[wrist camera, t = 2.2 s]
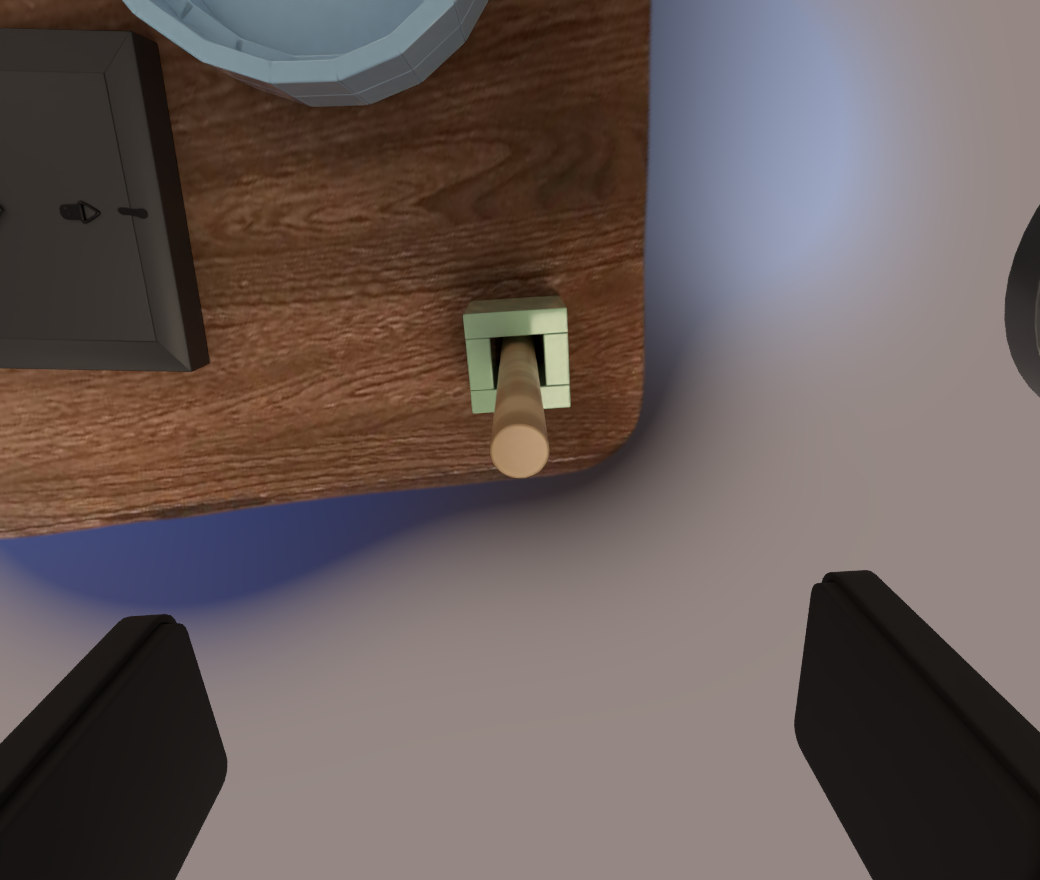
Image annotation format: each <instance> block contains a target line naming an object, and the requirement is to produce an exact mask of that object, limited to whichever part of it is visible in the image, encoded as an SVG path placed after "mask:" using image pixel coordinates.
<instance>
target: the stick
mask: <svg viewBox="0 0 1040 880" xmlns="http://www.w3.org/2000/svg"><path fill="white" fill-rule="evenodd" d="M490 455H491V459H492V461H493V463H494V465H495V466H496V468H497V469H498V470H499V471H500V472H502V473H503V474H505V475H507V476H510V477H513V478H526V477H530V476H532V475H534V474H536V473H537V472H539V471H540V470H541V469H542V468H543V467H544V465H545V464H546V462H547V460H548V457H549V443H548V436H547V429H546V422H545V416H544V409H543V402H542V395H541V388H540V381H539V374H538V368H537V361H536V354H535V347H534V340H533V337H532V335H523V336H508V337H503V340H502V348H501V357H500V366H499V375H498V384H497V392H496V401H495V410H494V419H493V428H492V437H491V446H490Z"/></svg>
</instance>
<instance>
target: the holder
mask: <svg viewBox="0 0 1040 880" xmlns="http://www.w3.org/2000/svg"><path fill="white" fill-rule="evenodd" d="M463 322H464V332H465V339H466V341H465V342H466V352H467V362H468V372H469V382H470V390H471V392H470V393H471V403H472V412H473V413H488V412H494V410H495V401H496V392H497V384H498V375H499V367H497V360H496V348H495V337H508V336H523V335H537V334H540V338H541V357H542V364H537V368H538V374H539V381H540V388H541V395H542V402H543V409H550V408H565V407H570V406H571V402H570V376H569V349H568V333H567V332H568V323H567V308H566V306H565V304H564V302H563V301H562V299H561V297H560V296H559V295H555V296H541V297H526V298H512V299H497V300H482V301H471V302H470V303H469V305H468V307H467V309H466V311H465V312H464V314H463Z"/></svg>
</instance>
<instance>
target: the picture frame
mask: <svg viewBox="0 0 1040 880" xmlns="http://www.w3.org/2000/svg"><path fill="white" fill-rule="evenodd" d="M209 363H210V362H209V355H208V349H207V343H206V337H205V331H204V325H203V319H202V313H201V307H200V301H199V295H198V289H197V283H196V277H195V271H194V265H193V259H192V253H191V247H190V240H189V234H188V228H187V222H186V216H185V210H184V204H183V198H182V192H181V186H180V180H179V174H178V168H177V162H176V156H175V150H174V144H173V138H172V132H171V125H170V119H169V113H168V107H167V101H166V95H165V89H164V83H163V77H162V71H161V65H160V59H159V53H158V47H157V44H156V43H154V42H152V41H150V40H148V39H146V38H144V37H142V36H140V35H138V34H136V33H134V32H132V31H104V30H66V29H28V28H0V368H16V369H69V370H121V371H174V372H192V371H194V370H197V369H199V368H201V367H203V366H205V365H207V364H209Z"/></svg>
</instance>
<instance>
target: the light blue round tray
mask: <svg viewBox="0 0 1040 880" xmlns="http://www.w3.org/2000/svg"><path fill="white" fill-rule="evenodd" d="M122 1H123V2H124V3H125V5H126V6H127V7H128V8H129V9H130V11H131V12H132V13H133V14H134V15H136V17H138V18H139V19H141V20H142V21H144V22H145V23H146V24H148V25H149V26H151V27H152V28H154V29H155V30H156V31H158V32H159V33H161V34H162V35H164V36H165V37H166V38H168V39H169V40H171V41H172V42H174V43H175V44H176V45H178V46H179V47H181V48H182V49H184V50H185V51H186V52H188V53H189V54H191V55H192V56H194V57H195V58H196V59H198V60H199V61H201V62H203V63H205V64H207V65H209V66H211V67H213V68H215V69H217V70H219V71H221V72H223V73H225V74H227V75H229V76H231V77H233V78H235V79H237V80H239V81H241V82H243V83H245V84H247V85H249V86H251V87H253V88H255V89H257V90H260V91H263V92H267V93H270V94H273V95H276V96H279V97H282V98H285V99H288V100H292V101H295V102H298V103H301V104H304V105H307V106H310V107H312V106H313V107H327V106H356V105H368V104H373V103H375V102H378V101H380V100H382V99H385V98H387V97H389V96H392V95H394V94H397V93H399V92H401V91H404V90H406V89H408V88H411V87H413V86H416V85H418V84H420V83H421V82H423V81H424V80H425V79H426V78H427V77H428V76H430V75H431V74H432V73H433V72H434V71H435V70H436V69H437V68H438V67H439V66H440V65H441V64H442V63H444V62H445V61H446V60H447V59H448V58H449V57H450V56H451V55H452V54H453V53H454V52H455V51H456V50H457V49H459V48H460V47H461V46H462V45H463V44H464V43H465V41H466V40H467V39H468V37H469V35H470V33H471V31H472V30H473V28H474V26H475V24H476V22H477V21H478V19H479V17H480V15H481V13H482V12H483V10H484V8H485V6H486V4H487V3H488V1H489V0H122Z"/></svg>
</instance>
